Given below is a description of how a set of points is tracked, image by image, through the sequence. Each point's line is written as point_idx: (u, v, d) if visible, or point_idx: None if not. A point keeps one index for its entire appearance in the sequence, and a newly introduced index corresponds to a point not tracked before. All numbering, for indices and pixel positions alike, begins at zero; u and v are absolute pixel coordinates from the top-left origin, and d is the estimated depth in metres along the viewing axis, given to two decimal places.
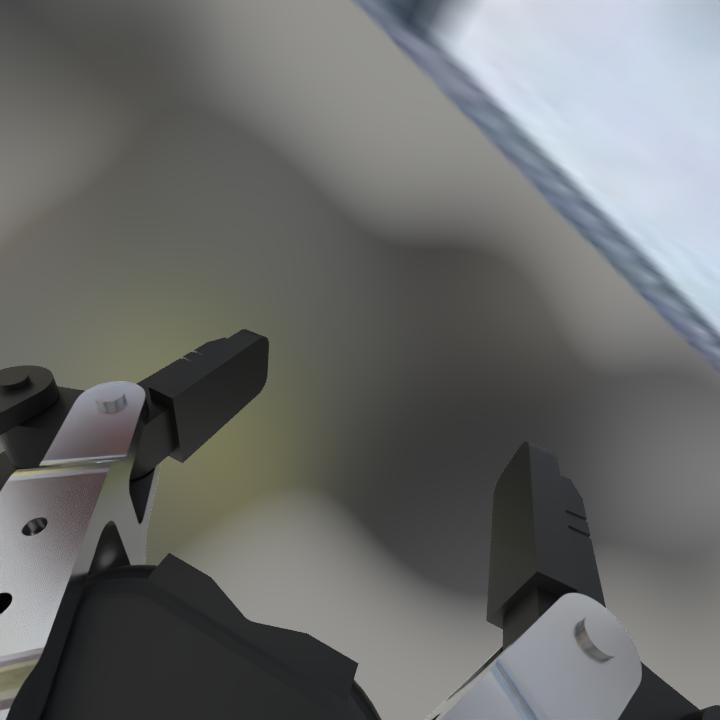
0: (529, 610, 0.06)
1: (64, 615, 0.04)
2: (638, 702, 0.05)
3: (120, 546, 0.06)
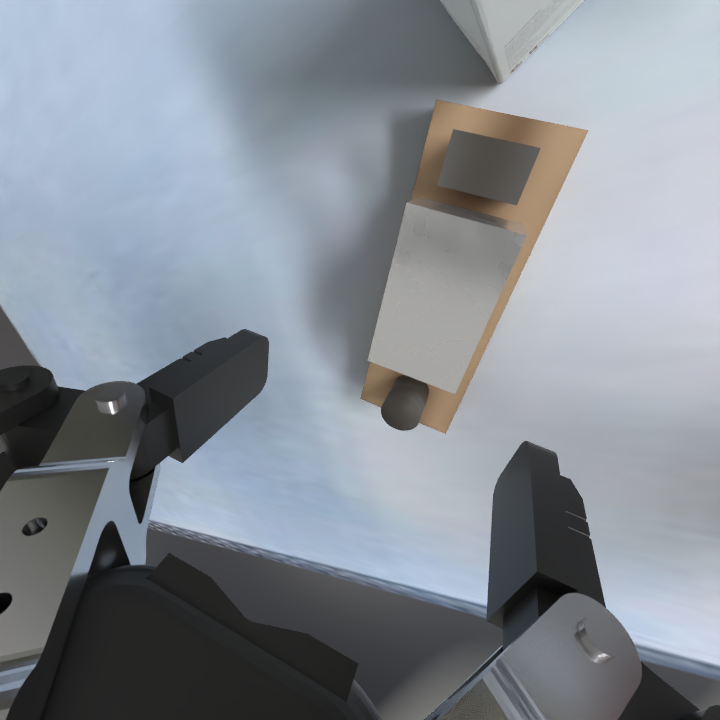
0: (529, 610, 0.06)
1: (63, 616, 0.04)
2: (638, 702, 0.05)
3: (120, 546, 0.06)
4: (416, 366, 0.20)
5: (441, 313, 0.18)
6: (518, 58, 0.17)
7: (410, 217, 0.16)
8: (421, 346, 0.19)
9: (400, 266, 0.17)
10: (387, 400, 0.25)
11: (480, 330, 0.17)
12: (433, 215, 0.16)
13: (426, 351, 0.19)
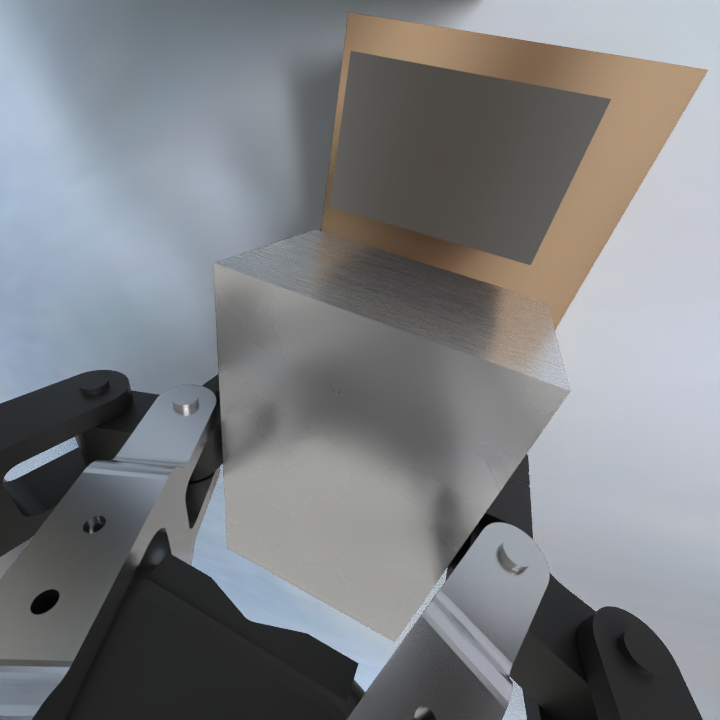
0: (465, 541, 0.07)
1: (98, 628, 0.04)
2: (547, 608, 0.06)
3: (168, 551, 0.06)
4: (315, 582, 0.09)
5: (346, 515, 0.07)
6: None
7: (232, 302, 0.06)
8: (316, 556, 0.09)
9: (240, 408, 0.07)
10: None
11: (438, 565, 0.07)
12: (286, 303, 0.05)
13: (327, 566, 0.09)
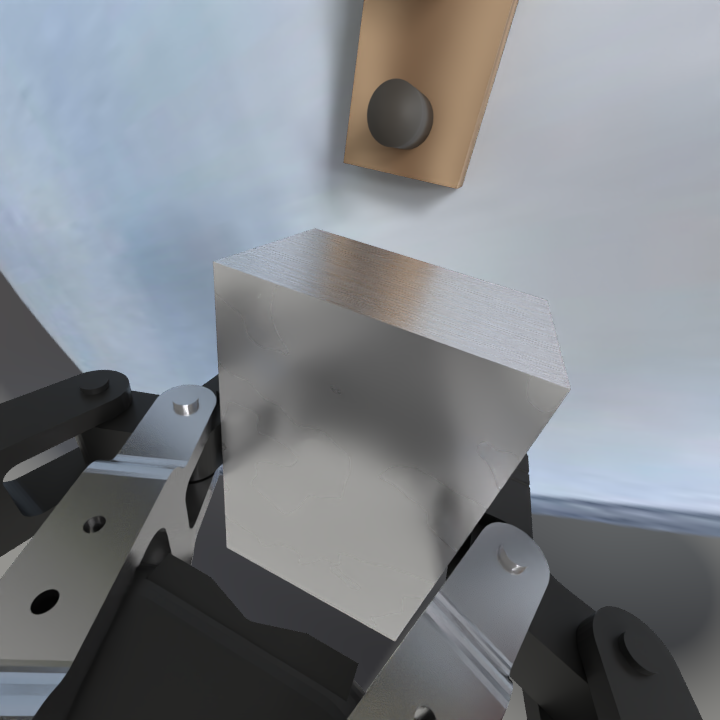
0: (465, 541, 0.07)
1: (98, 627, 0.04)
2: (547, 608, 0.06)
3: (168, 551, 0.06)
4: (315, 581, 0.09)
5: (345, 513, 0.07)
6: None
7: (232, 300, 0.06)
8: (316, 555, 0.09)
9: (240, 407, 0.07)
10: (375, 92, 0.18)
11: (438, 564, 0.07)
12: (286, 302, 0.05)
13: (327, 564, 0.09)
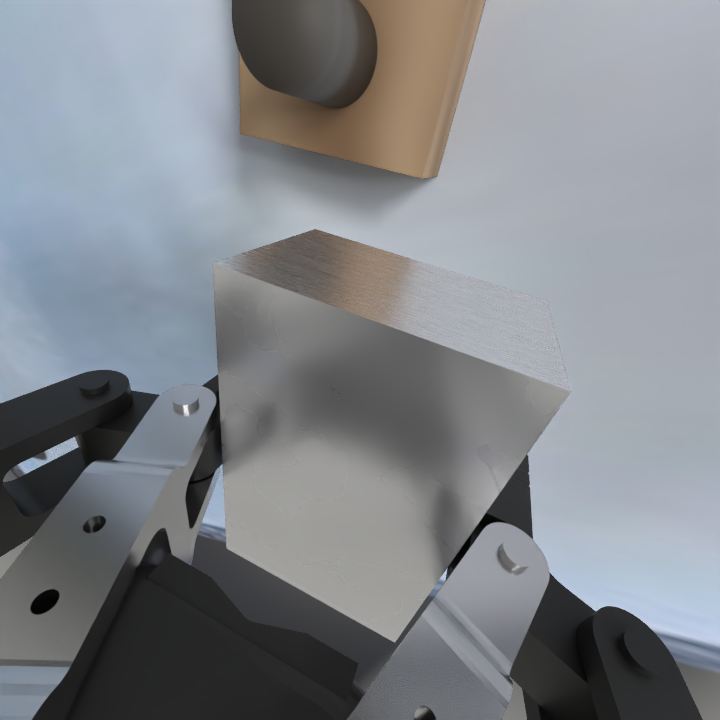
0: None
1: (98, 627, 0.04)
2: (547, 608, 0.06)
3: (168, 551, 0.06)
4: (314, 583, 0.09)
5: (346, 515, 0.07)
6: None
7: (232, 302, 0.06)
8: (316, 557, 0.09)
9: (239, 409, 0.07)
10: None
11: (438, 566, 0.07)
12: (286, 303, 0.05)
13: (327, 565, 0.09)
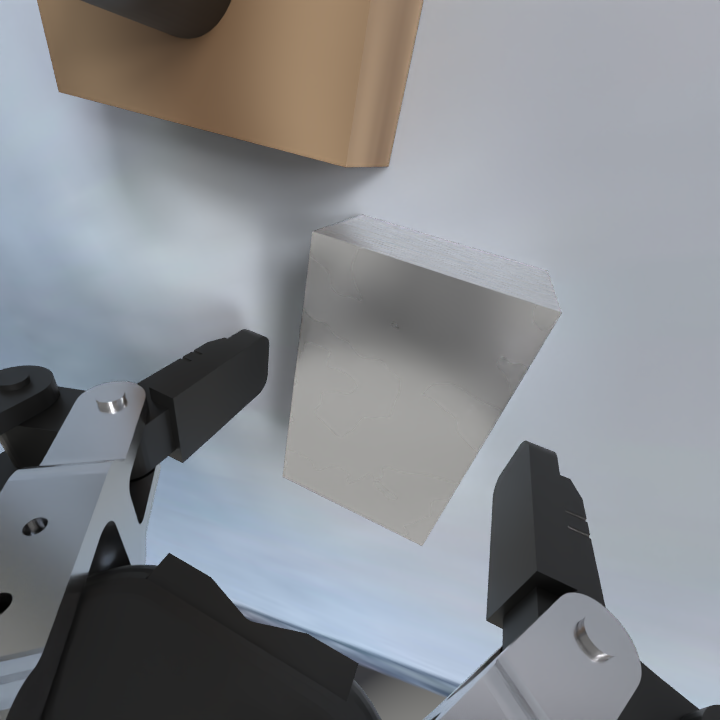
0: (529, 609, 0.06)
1: (64, 616, 0.04)
2: (638, 701, 0.05)
3: (120, 546, 0.06)
4: (358, 498, 0.12)
5: (392, 430, 0.10)
6: None
7: (322, 260, 0.08)
8: (363, 472, 0.11)
9: (315, 346, 0.09)
10: None
11: (463, 466, 0.09)
12: (365, 259, 0.08)
13: (370, 480, 0.11)
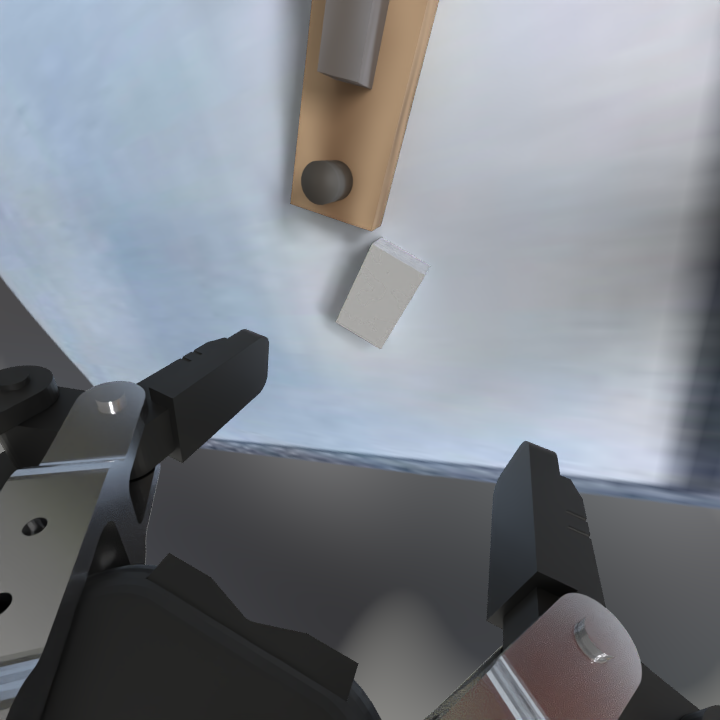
0: (529, 610, 0.06)
1: (64, 615, 0.04)
2: (638, 702, 0.05)
3: (120, 546, 0.06)
4: (362, 330, 0.35)
5: (380, 304, 0.33)
6: None
7: (372, 251, 0.31)
8: (366, 319, 0.34)
9: (363, 275, 0.32)
10: (306, 167, 0.26)
11: (398, 316, 0.33)
12: (383, 254, 0.30)
13: (369, 322, 0.34)
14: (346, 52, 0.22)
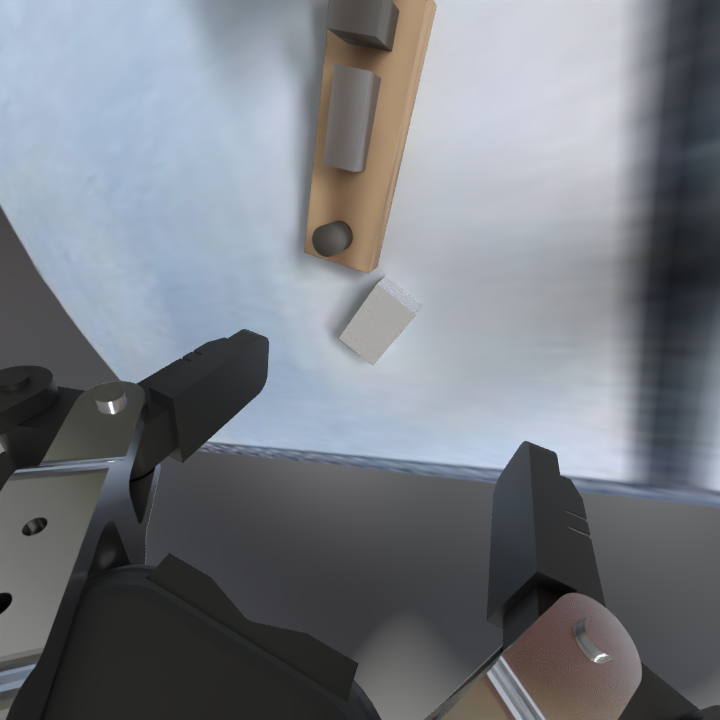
0: (529, 610, 0.06)
1: (63, 616, 0.04)
2: (638, 702, 0.05)
3: (120, 546, 0.06)
4: (360, 348, 0.42)
5: (377, 330, 0.40)
6: None
7: (376, 289, 0.38)
8: (364, 340, 0.41)
9: (366, 305, 0.39)
10: (315, 230, 0.33)
11: (390, 342, 0.40)
12: (385, 292, 0.38)
13: (366, 343, 0.41)
14: (344, 152, 0.30)
